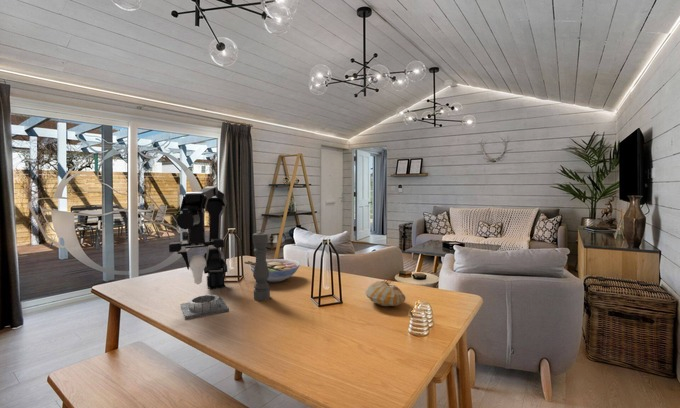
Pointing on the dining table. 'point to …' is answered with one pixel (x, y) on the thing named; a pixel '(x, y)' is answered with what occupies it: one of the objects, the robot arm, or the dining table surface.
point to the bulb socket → (203, 306)
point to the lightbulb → (197, 267)
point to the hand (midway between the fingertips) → (197, 268)
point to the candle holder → (261, 267)
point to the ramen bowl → (278, 268)
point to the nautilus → (385, 294)
